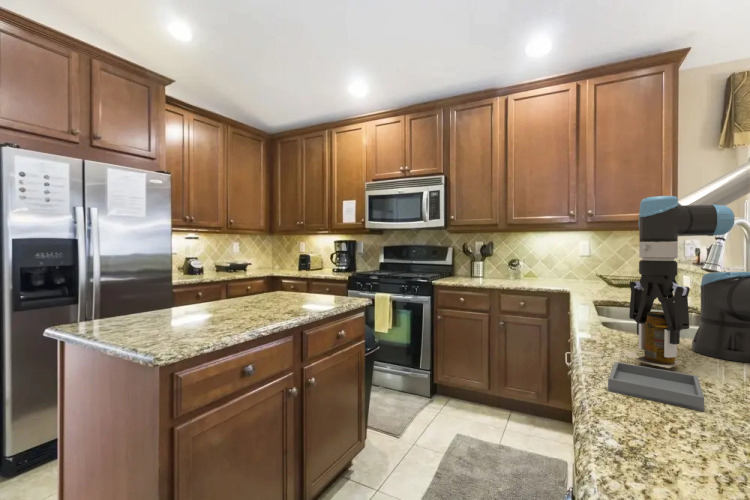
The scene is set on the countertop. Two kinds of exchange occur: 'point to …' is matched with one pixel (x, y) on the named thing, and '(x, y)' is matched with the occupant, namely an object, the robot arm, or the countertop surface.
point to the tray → (657, 385)
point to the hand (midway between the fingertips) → (656, 352)
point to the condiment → (656, 341)
